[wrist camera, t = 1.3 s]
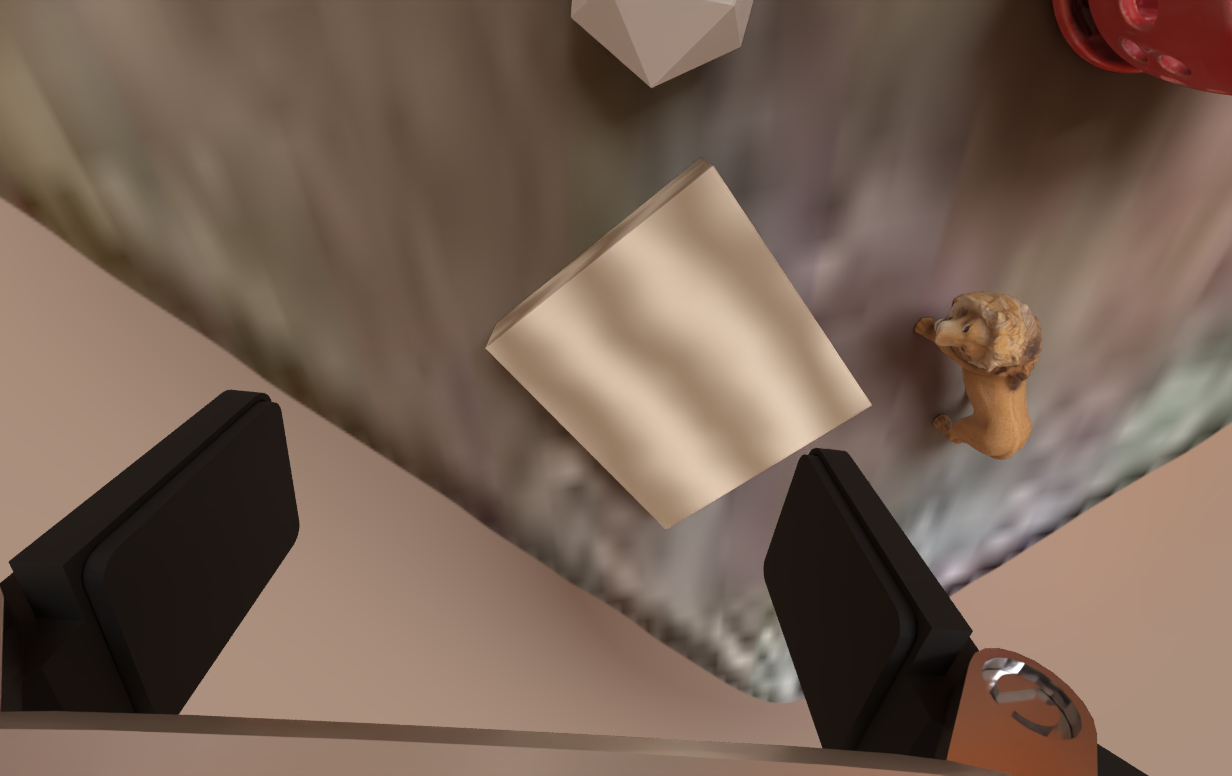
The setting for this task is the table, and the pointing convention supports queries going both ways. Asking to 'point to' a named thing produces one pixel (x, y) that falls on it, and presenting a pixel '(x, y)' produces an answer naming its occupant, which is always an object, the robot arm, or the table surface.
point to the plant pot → (1154, 38)
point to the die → (664, 32)
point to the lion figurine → (989, 368)
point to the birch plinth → (679, 351)
